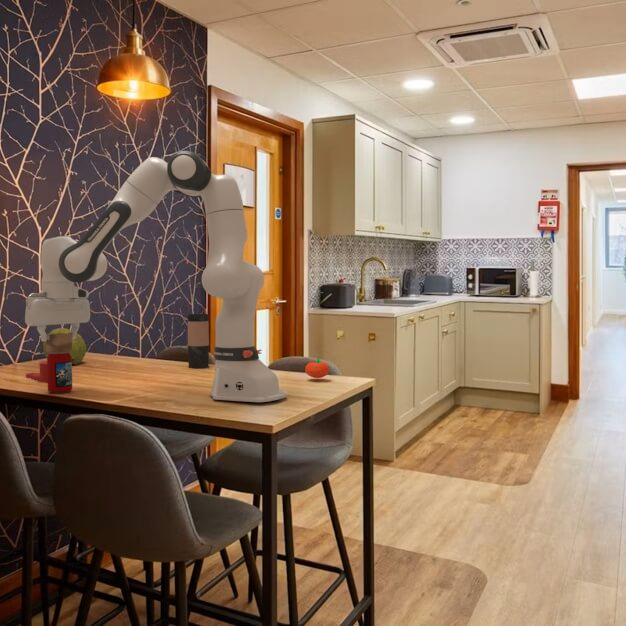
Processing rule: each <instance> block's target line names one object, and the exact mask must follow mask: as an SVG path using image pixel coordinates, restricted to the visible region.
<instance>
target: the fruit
mask: <svg viewBox="0 0 626 626" xmlns="http://www.w3.org/2000/svg"><path fill="white" fill-rule="evenodd" d="M71 330H72V329H69V328H65V327H60V328H59V327H58V328H55V329H52V330H51V331H50V332H49V333H48V334H57V333H65V334H68V333H71ZM42 348H43V349H42V350H43V353H44V356H45V357H46V358H47V357H48V355H49V352H46V341H45V342H43V344H42ZM87 348H88V347H87V345H86V343H85V340H84V338H83V336H81V334H79V333H78V332H77V333H76V339H72V351H69V353H70V355H71V356H72V364H76V365H79V364H80V363H81V362H82V361H83V360H84V358H85V356H86V354H87Z"/></svg>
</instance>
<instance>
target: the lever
mask: <svg viewBox="0 0 626 626" xmlns="http://www.w3.org/2000/svg"><path fill="white" fill-rule="evenodd" d="M27 377H28V378H27ZM25 378H27V379H30V378H31V379H30V380H33V379H34V380H33V381H36V380H37V382H39V381H40V382H39V383H43V382H46V383H45V384H48V382H47V360H46V361H41V362H39V372H29V373H26V374H25Z"/></svg>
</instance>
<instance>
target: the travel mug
mask: <svg viewBox="0 0 626 626" xmlns="http://www.w3.org/2000/svg"><path fill="white" fill-rule="evenodd" d="M209 324H210V323H209V313H190V314H187V358H188V361H187V362H188V368H189V369H192V370H193V369H194V370H204V369H209V364H210V363H209V362H210V360H209V357H210V354H209V353H210V338H209V337H210V335H209V332H210V331H209V327H210V326H209Z"/></svg>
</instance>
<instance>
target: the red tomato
mask: <svg viewBox="0 0 626 626" xmlns="http://www.w3.org/2000/svg"><path fill="white" fill-rule="evenodd" d="M304 369H305V370H304V371H305V373H306V375H307V376H309V377H311V378H314V379H320V378H321V379H322V378H324V377H326V376H327V375H328V374H329V373H330V366H329V365H328V364H327V363H326V362H322V361H321V362H320V358H316V361H315V362H313V361H312V362H308V363H307V364H306V366H305V368H304Z"/></svg>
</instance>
